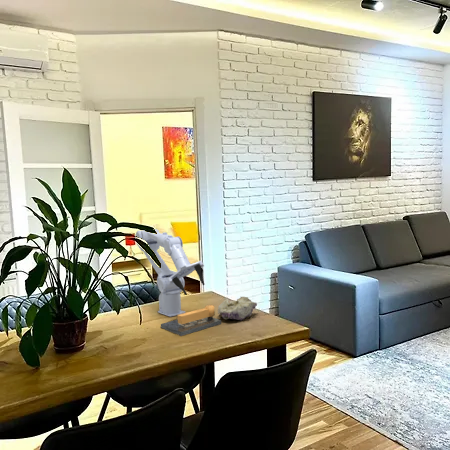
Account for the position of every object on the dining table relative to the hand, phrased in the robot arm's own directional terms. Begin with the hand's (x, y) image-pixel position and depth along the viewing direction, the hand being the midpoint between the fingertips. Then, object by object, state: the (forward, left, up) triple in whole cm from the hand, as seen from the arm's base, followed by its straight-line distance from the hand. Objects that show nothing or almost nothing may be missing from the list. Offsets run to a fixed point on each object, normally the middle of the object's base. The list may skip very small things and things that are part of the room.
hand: (194, 288), depth 175 cm
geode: (+3, +18, -15) cm, 23 cm away
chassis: (0, -2, -14) cm, 14 cm away
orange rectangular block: (+1, 0, -12) cm, 12 cm away
